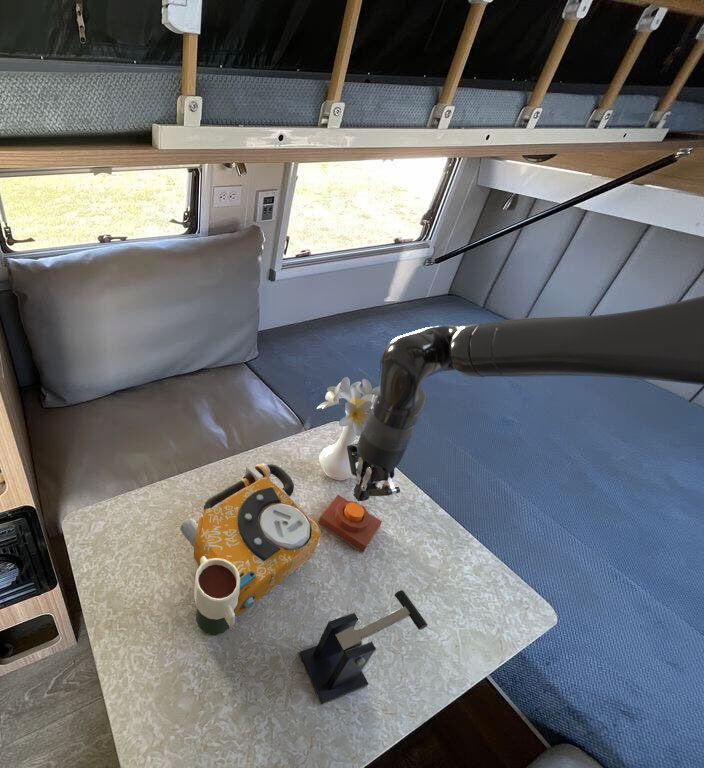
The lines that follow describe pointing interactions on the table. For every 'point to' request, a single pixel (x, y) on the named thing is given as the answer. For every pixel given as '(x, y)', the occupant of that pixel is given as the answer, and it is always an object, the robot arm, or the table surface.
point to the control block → (349, 524)
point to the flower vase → (346, 424)
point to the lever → (381, 624)
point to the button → (354, 512)
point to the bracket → (336, 662)
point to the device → (255, 532)
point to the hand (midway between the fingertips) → (359, 497)
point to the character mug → (216, 595)
